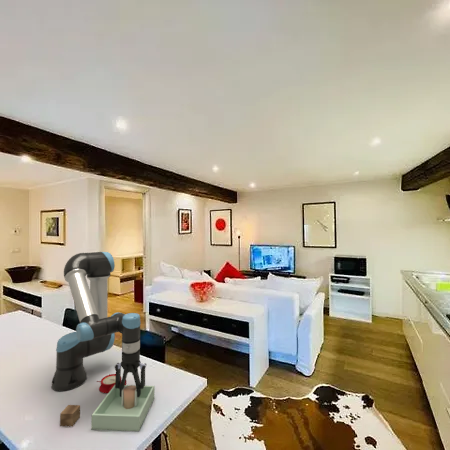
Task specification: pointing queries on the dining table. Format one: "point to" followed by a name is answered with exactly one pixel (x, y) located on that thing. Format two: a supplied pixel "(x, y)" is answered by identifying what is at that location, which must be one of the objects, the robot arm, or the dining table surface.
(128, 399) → the terracotta canister
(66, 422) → the walnut cube
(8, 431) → the dining table surface
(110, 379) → the alarm clock
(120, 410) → the tray
